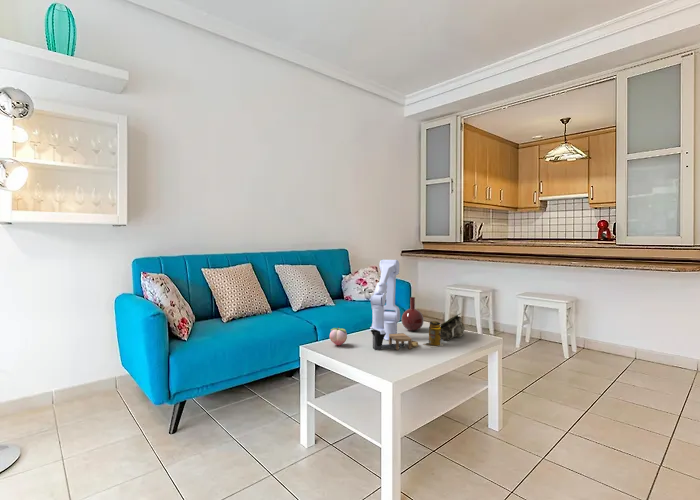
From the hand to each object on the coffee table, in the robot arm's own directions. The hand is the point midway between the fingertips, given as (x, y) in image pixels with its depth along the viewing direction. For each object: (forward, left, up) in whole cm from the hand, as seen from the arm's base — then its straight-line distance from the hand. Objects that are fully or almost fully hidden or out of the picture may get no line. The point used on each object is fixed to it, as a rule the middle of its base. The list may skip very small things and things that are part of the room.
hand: (378, 344), depth 194 cm
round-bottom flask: (-30, +32, -2) cm, 44 cm away
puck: (0, +19, -2) cm, 19 cm away
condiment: (+1, +30, -2) cm, 30 cm away
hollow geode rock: (-11, +45, -2) cm, 47 cm away
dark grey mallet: (0, +6, -2) cm, 6 cm away
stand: (-1, +12, -2) cm, 12 cm away
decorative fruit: (-11, -18, -2) cm, 21 cm away
